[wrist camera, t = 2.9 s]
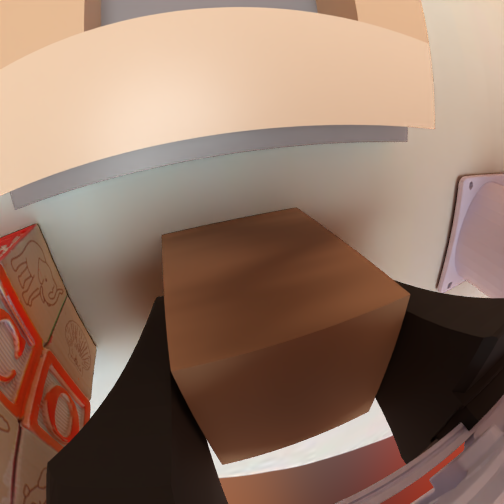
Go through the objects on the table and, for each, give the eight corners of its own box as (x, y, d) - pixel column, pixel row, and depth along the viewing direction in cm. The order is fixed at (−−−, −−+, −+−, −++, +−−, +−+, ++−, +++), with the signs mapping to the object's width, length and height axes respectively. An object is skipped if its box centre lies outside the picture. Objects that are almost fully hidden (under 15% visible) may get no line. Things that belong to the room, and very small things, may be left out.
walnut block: (296, 207, 11) (410, 294, 5) (298, 311, 13) (368, 411, 8) (161, 235, 9) (171, 371, 4) (191, 339, 12) (222, 464, 7)
